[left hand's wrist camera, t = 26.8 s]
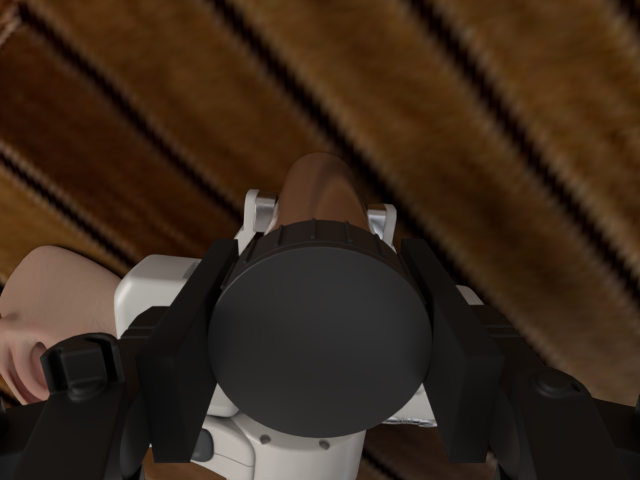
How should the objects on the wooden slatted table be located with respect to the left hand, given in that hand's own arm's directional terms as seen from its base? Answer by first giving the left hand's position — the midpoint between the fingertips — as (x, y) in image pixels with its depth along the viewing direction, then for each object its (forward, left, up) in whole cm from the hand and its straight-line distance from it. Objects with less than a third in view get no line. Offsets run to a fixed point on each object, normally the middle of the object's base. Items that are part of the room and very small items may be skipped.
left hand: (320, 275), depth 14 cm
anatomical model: (+5, +21, -14) cm, 25 cm away
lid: (0, 0, +4) cm, 4 cm away
